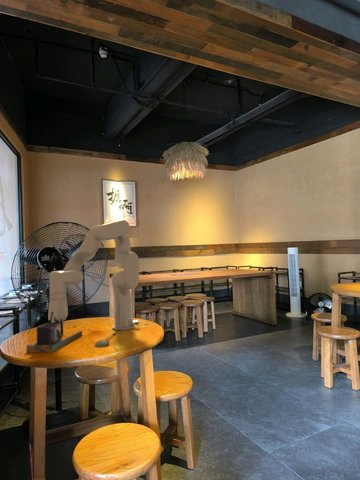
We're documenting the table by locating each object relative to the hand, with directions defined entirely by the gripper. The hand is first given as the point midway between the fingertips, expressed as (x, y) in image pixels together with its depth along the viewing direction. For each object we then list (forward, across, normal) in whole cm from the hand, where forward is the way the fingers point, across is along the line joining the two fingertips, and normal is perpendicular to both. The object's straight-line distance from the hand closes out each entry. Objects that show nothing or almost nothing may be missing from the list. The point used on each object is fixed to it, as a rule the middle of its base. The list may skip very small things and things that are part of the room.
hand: (59, 333), depth 156 cm
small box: (+4, +8, 0) cm, 9 cm away
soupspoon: (+4, -4, +24) cm, 24 cm away
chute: (+4, +2, 0) cm, 4 cm away
